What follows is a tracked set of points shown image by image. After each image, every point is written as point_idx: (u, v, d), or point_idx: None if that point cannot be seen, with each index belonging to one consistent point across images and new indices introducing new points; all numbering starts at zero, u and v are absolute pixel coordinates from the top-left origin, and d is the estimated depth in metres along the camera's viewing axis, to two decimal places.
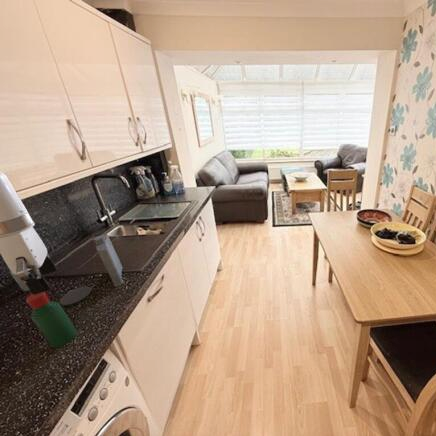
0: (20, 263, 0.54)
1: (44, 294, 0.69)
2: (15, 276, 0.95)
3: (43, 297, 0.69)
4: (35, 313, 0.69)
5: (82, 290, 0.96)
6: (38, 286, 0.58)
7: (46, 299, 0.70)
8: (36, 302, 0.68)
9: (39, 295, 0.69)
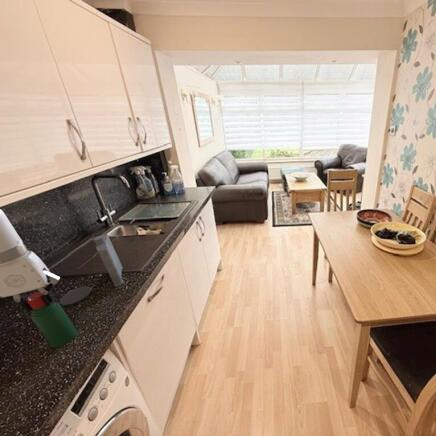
0: (50, 274, 0.68)
1: None
2: None
3: None
4: (35, 313, 0.69)
5: (82, 290, 0.96)
6: (52, 295, 0.71)
7: None
8: (36, 302, 0.68)
9: (39, 295, 0.69)
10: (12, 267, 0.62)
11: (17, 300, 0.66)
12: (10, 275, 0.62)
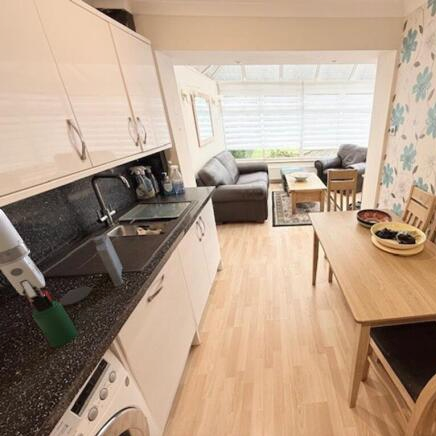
0: None
1: None
2: None
3: None
4: (37, 312, 0.69)
5: (82, 290, 0.96)
6: None
7: None
8: (47, 294, 0.71)
9: None
10: (28, 256, 0.66)
11: (43, 295, 0.67)
12: (32, 264, 0.66)
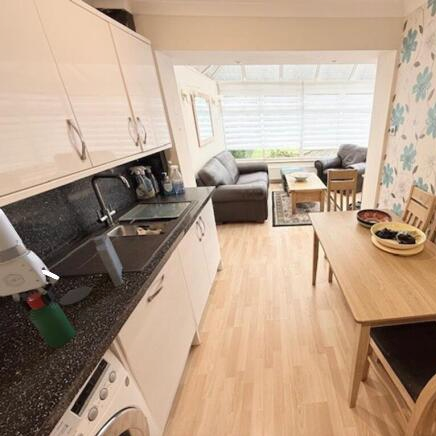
0: (49, 273, 0.68)
1: None
2: None
3: None
4: (34, 313, 0.68)
5: (82, 290, 0.96)
6: (51, 295, 0.70)
7: None
8: None
9: (38, 293, 0.70)
10: (11, 266, 0.62)
11: (16, 299, 0.66)
12: (9, 274, 0.62)
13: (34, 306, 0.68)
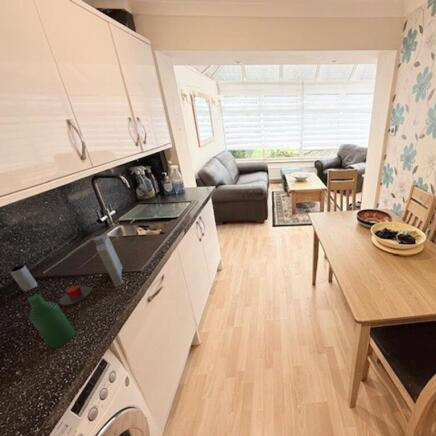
0: None
1: (71, 292, 0.91)
2: (15, 276, 0.95)
3: (69, 294, 0.91)
4: (33, 314, 0.68)
5: (82, 290, 0.96)
6: None
7: (72, 296, 0.92)
8: None
9: (70, 291, 0.91)
10: None
11: None
12: None
13: None
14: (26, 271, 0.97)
